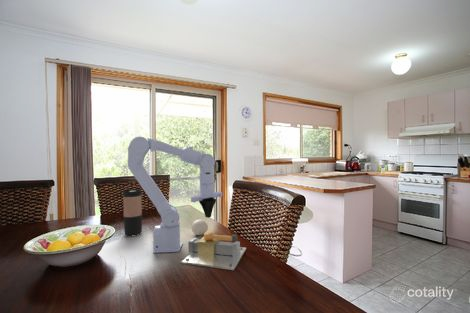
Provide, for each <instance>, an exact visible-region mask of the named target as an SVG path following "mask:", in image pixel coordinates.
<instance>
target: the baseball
mask: <svg viewBox="0 0 470 313" xmlns="http://www.w3.org/2000/svg"><path fill="white" fill-rule="evenodd" d="M208 229H209V226H208V222H206V220H203V219H195V220H194V221H193V222H192V224H191V231H192V233H193V234H194V235H196V236H202V235H204V233H206V232H208Z"/></svg>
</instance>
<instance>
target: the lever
mask: <svg viewBox="0 0 470 313" xmlns="http://www.w3.org/2000/svg"><path fill="white" fill-rule="evenodd" d="M203 237H204V239H205V240H212V239H217V240H219V241H226V242H230V241H231V242H232V243H235V242H236V241H238V242H239V240H238V238H239V237H238V234H232V235H227V234H226V235H225V234H215V233H214V232H211V231H206V232H205V233H204V234H203Z"/></svg>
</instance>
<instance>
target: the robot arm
mask: <svg viewBox="0 0 470 313" xmlns="http://www.w3.org/2000/svg"><path fill="white" fill-rule="evenodd" d="M149 151H150V152H158V151H159V152H162V153H166V154H170V155H173V156H176V157H179V159H180V160H181V161H182V162H185V163H188V164H191V165H195V166H198V167H199V194H197V195H193V196H190V202H191V203H197V202H199V204H200V205H201V207H202V209H203V210H202V211H203V213H204V217H205V218H211V217H212V214H213V209H214V206H215V204H216V202H217V198H219V197H223V191H215V172H214V166H215V165H216V160H215V157H214V156H213V155H212V154H209V153H205V152H204V151H203V150H196V149H194V148H193V146H188V147H187V146H185V147H182V148H180V147H177V146H175V145H172V144H169V143H166V142H164V141H161V140H158V139H153V138H149V137H148V138H146V137H144V136H135V137H134V138H132V139H131V141H130V143H129V145H128V147H127V167H128V169H129V171H130V172H131V173H132V176H133V177H134V178H135V179H136V181H137V182H138V184H139V186H141V188H142V189H143V191H144V192H145V194H146V195H147V196H148V198H149V200H150V201H151V202H152V204H153V205H154V207H155V208H156V210H157V212H158V214H159V216H160V218H161V223H160V224H159V225H155V226H154V229H153V236H152V238H153V242H152V243H153V251H152V252H153V254H156V253H158V254H159V253H179V252H180V250H181V248H182V246H183V242H181V230H180V229H181V227H180V225H181V224H180V214H179V213H178V209H177V208H176V207H175V206H174V205H172V204H171V203H170V202H169V201H168V199H167V198H166V197H165V196H164V193H163V192H162V191H161V188H159V186H158V185H157V183H156V182H155V180H154V179H153V178H152V177H151V174H150V173H149V172H148V170H147V169H146V167H145V166H144V163H145V158H146V155H147V154H148V152H149Z"/></svg>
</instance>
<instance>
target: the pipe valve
mask: <svg viewBox="0 0 470 313" xmlns="http://www.w3.org/2000/svg"><path fill="white" fill-rule="evenodd" d="M187 245H188V253H189V254H190V253H192V252H194V251H195V252H198V254H203V255H212V256H214V255H215V254H222V255H231V256H232V257H237V256H238V255H239V253H240V247H241V242H240V241H239V240H238V241H236V242H233V241H231V242H230V241H222V240H217V239H212V240H205V239H204V236H203V237H201V238H200V239H199V238H198V237H194V236H193V237H192V238H190V240H188V241H187Z"/></svg>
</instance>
